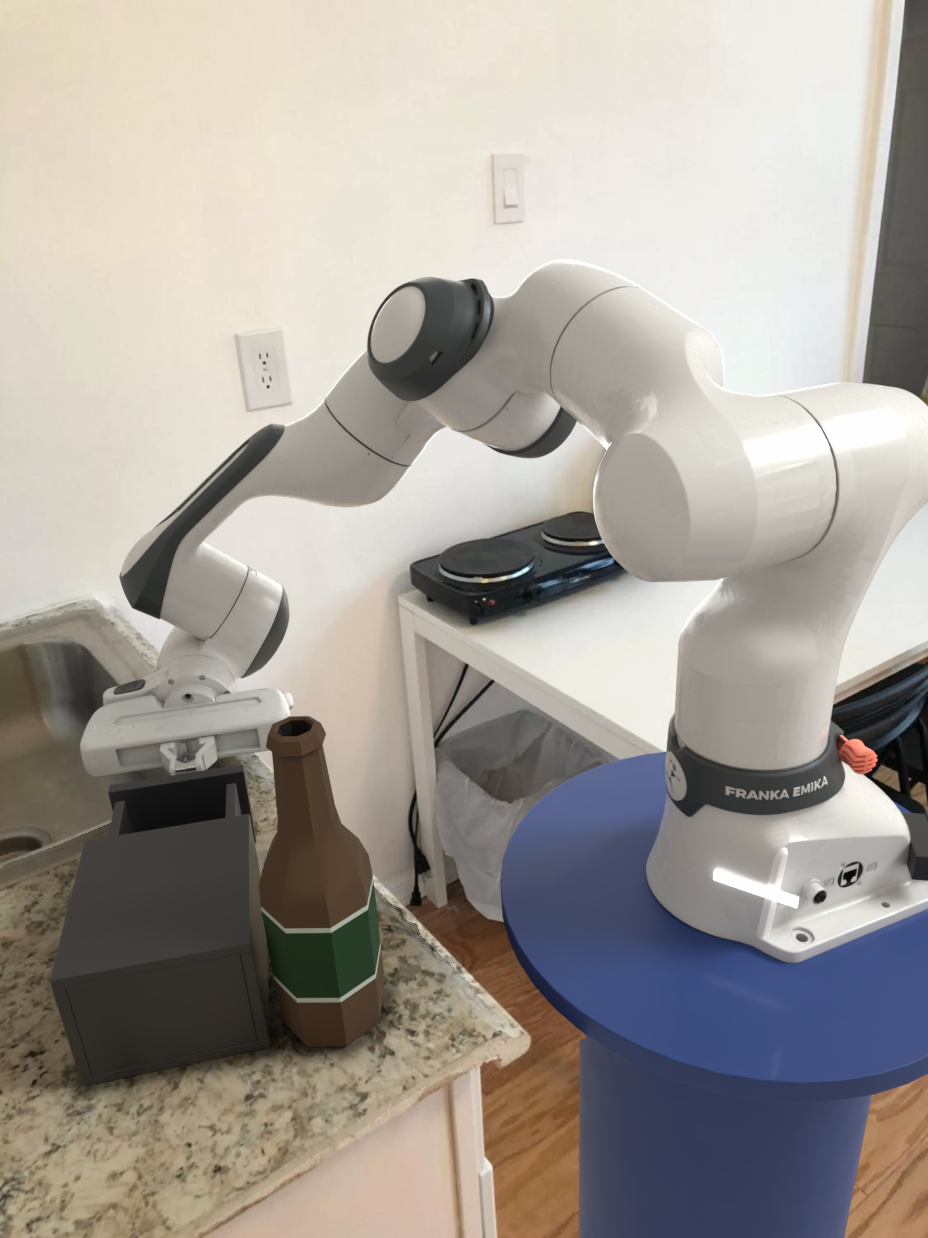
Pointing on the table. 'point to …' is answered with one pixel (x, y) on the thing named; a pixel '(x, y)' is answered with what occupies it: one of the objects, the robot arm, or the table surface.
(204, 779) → the drawer
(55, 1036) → the table surface
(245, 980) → the cabinet
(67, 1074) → the table surface
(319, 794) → the beer bottle
